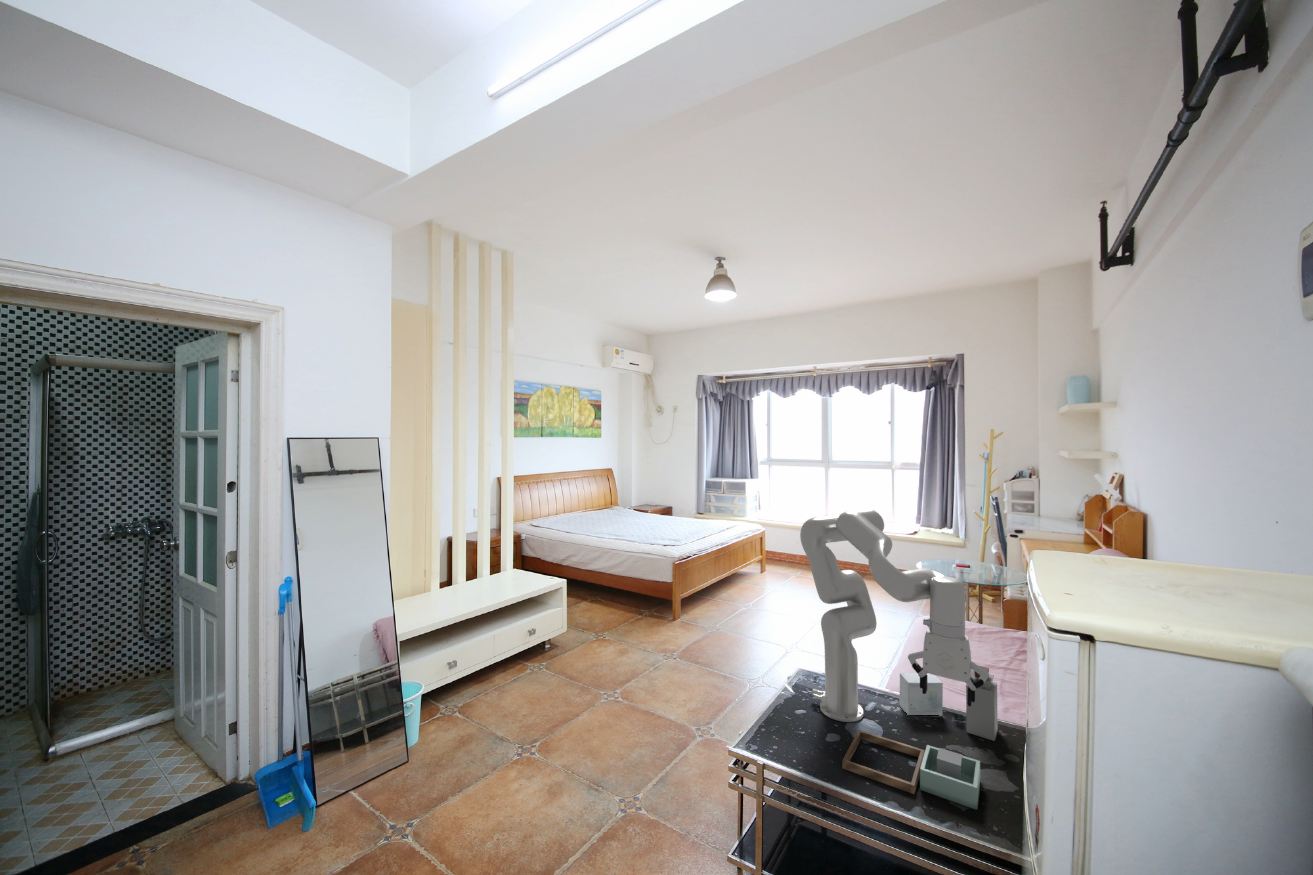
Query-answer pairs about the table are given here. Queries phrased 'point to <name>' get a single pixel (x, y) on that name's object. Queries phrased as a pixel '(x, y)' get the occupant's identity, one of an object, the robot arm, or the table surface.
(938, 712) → the skincare box
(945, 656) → the robot arm
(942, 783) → the sage green bin
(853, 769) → the brown wooden frame
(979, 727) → the perfume bottle
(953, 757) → the stone block
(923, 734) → the table surface
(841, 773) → the table surface
